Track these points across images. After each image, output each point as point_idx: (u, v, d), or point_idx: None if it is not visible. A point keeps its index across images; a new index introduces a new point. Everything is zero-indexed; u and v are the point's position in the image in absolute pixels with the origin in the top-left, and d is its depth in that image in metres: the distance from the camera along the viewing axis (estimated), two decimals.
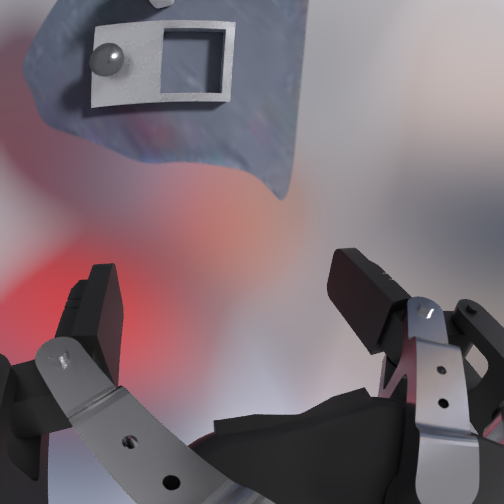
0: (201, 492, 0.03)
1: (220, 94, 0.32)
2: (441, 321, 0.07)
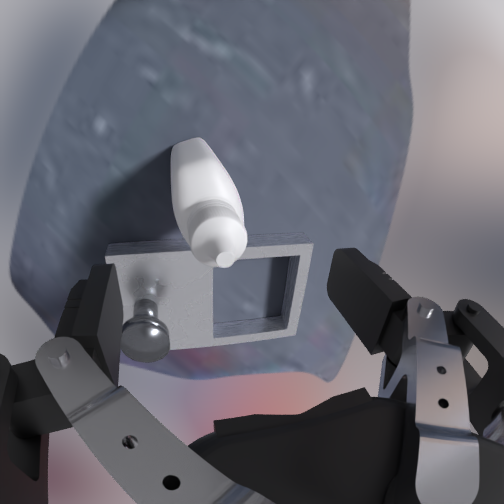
0: (201, 492, 0.03)
1: (285, 330, 0.29)
2: (441, 321, 0.07)
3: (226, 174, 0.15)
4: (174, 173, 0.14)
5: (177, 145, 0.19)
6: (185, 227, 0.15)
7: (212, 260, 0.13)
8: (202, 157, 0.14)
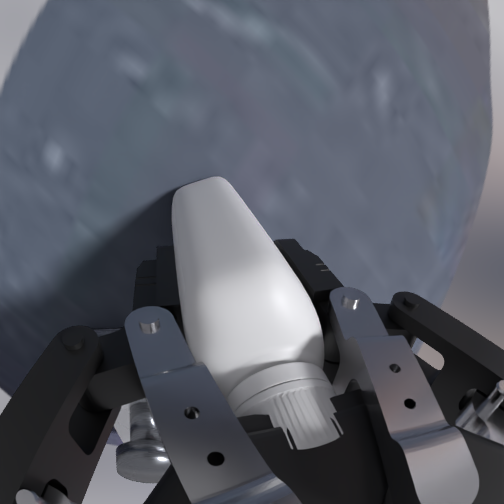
0: (239, 475, 0.03)
1: None
2: (365, 313, 0.08)
3: (303, 293, 0.07)
4: (188, 294, 0.06)
5: (183, 193, 0.11)
6: None
7: None
8: (250, 257, 0.07)
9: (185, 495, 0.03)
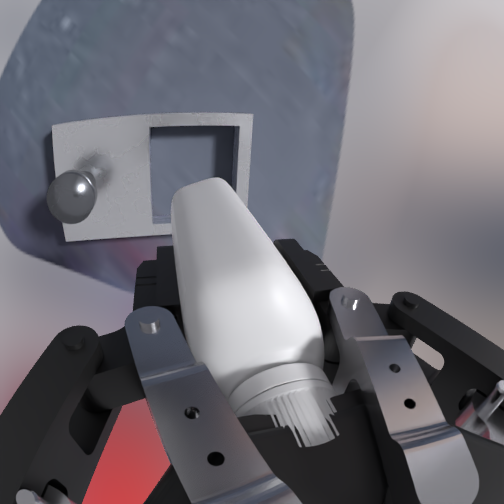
0: (239, 475, 0.03)
1: None
2: (365, 313, 0.08)
3: (303, 294, 0.07)
4: (189, 296, 0.06)
5: (182, 194, 0.11)
6: None
7: None
8: (250, 259, 0.07)
9: (185, 495, 0.03)
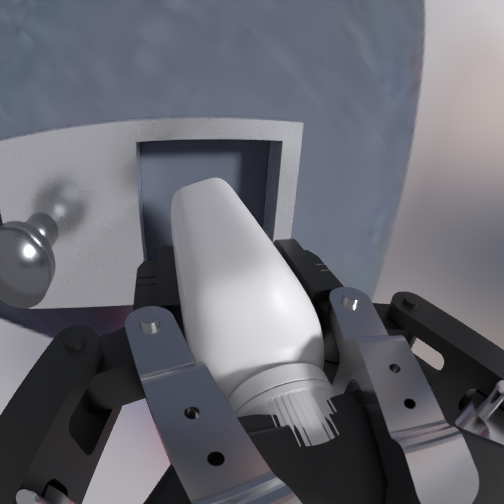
0: (239, 475, 0.03)
1: None
2: (365, 313, 0.08)
3: (303, 294, 0.07)
4: (189, 296, 0.06)
5: (182, 195, 0.11)
6: None
7: None
8: (251, 259, 0.07)
9: (185, 495, 0.03)
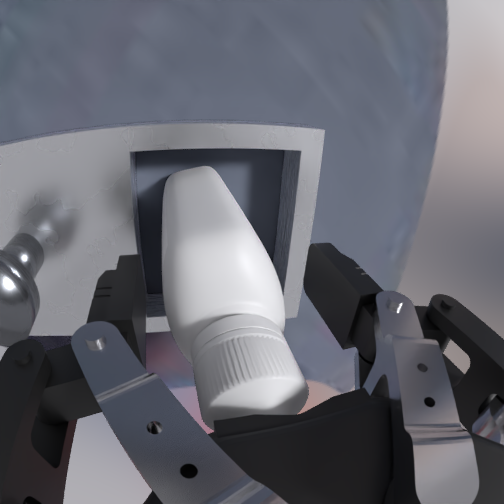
0: (216, 483, 0.03)
1: None
2: (410, 315, 0.08)
3: (267, 259, 0.08)
4: (169, 249, 0.08)
5: (175, 177, 0.12)
6: (186, 348, 0.08)
7: None
8: (224, 222, 0.08)
9: None
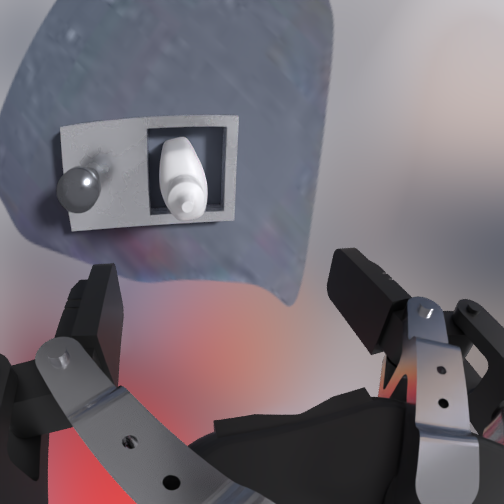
0: (201, 492, 0.03)
1: (222, 212, 0.29)
2: (441, 321, 0.07)
3: (197, 159, 0.21)
4: (162, 156, 0.21)
5: (167, 141, 0.25)
6: (166, 193, 0.21)
7: (180, 211, 0.19)
8: (182, 147, 0.21)
9: None
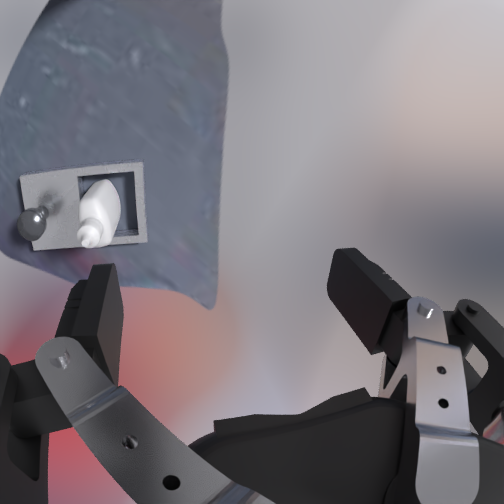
0: (201, 492, 0.03)
1: (137, 236, 0.36)
2: (441, 321, 0.07)
3: (100, 205, 0.28)
4: (79, 203, 0.28)
5: (93, 184, 0.32)
6: None
7: None
8: (91, 196, 0.28)
9: None
